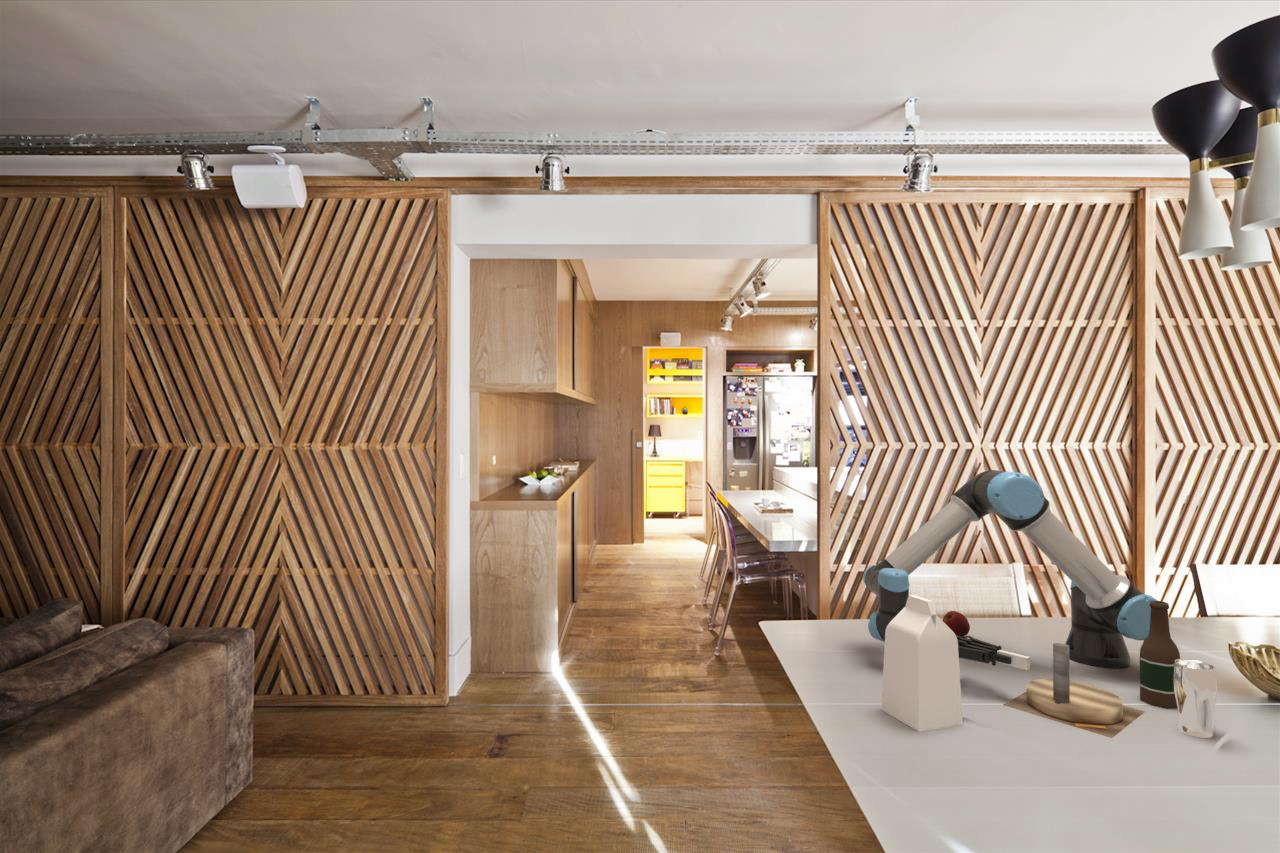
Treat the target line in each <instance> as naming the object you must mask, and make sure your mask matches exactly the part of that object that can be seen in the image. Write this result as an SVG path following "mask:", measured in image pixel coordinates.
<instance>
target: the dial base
mask: <svg viewBox="0 0 1280 853" xmlns="http://www.w3.org/2000/svg"><path fill="white" fill-rule="evenodd" d="M1002 706H1005V707H1009V708H1012V709H1016V710H1019V711H1022V712H1025V713H1028V714H1032V715H1035V716H1038V717H1042V718H1045V719H1047V720H1051V721H1054V722H1057V723H1058V722H1059V723H1061V724H1064V725H1068V726H1071V727H1074V728H1077V729H1081V730H1083V731H1084V730H1085V731H1087V732H1091V733H1094V734H1098V735H1101V736H1104V737H1108V738H1110V739H1113V738H1114V737H1115V736H1116V735H1118V734H1119V733H1120V732H1121V731H1123V730H1124V729H1125V728H1127V727H1128V726H1129V725H1130V724H1132V723H1133V722H1134V721H1135V720H1137V719H1138V718H1139V717H1141V715H1143V714H1144V713H1146V711H1145V710H1141V709H1137V708H1134V707H1131V706H1130V707H1129V706H1127V705H1123V719H1122V720H1121V721H1119V722H1117V723H1113V724H1102V725H1101V724H1086V723H1079V722H1073V721H1069V720H1064V719H1061V718H1057V717H1054V716H1051V715H1048V714H1046V713H1043V712H1041V711H1039V710H1037V709H1035V708H1034V707H1032V706H1031V705H1030V704H1029V703H1028V702H1027V700H1026V691H1025V692H1023V693H1021V694H1020V695H1018V696H1016V697H1014V698H1012V699H1010V700H1009V701H1007V702H1005V703H1003V704H1002Z"/></svg>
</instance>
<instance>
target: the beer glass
mask: <svg viewBox="0 0 1280 853" xmlns="http://www.w3.org/2000/svg"><path fill="white" fill-rule="evenodd" d="M1216 673H1217V672H1216V666H1214V665H1213V664H1211V663H1208V662H1204V661H1200V660H1195V659H1187V658H1180V659H1176V660H1174V670H1173V688H1174V694H1175V699H1176V704H1177V708H1178V709H1177V713H1178V721H1177V726H1176V729H1177V730H1178V731H1179V732H1180V733H1183V734H1185V735H1187V736H1192V737H1196V738H1202V739H1211V738H1214V736H1215V735H1214V731H1213V730H1214V729H1213V717H1214V711H1215V707H1216V703H1217V697H1218V684H1217V683H1218V682H1217V674H1216Z"/></svg>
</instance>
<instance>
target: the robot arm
mask: <svg viewBox="0 0 1280 853" xmlns="http://www.w3.org/2000/svg"><path fill="white" fill-rule="evenodd" d="M1044 495H1045V494H1044V491H1043V488H1042V486H1041V485H1040V484H1039V483H1038V482H1037V481H1036V480H1035V479H1034V478H1032V476H1029V475H1026V474H1024V473H1022V472H1018V471H1004V470H1003V471H1001V470H996V469H993V470H991V469H989V470H986V471H985V470H984V471H982V472H979V473H977V474H976V475H975V476H973V477H971V478H970V479H968V481H966V483H964V484H962V486H961V487H960V488H958V489H957V490H956V491H955V492H954V493H953V494H951V495H950V501H949V502H948V503H947V504H946V505H945V506H943V507H942V508H941V509H940V510H939V511H938V512H937V513H936V514H934V515H933V516H932V517H931V518H929V519H928V521H926V522H925V523H924V524H923V525H922V526H920V527H919V528H918V529H917V530H916V531H915V532H914V533H912V534H911V535H910V536H909V537H908V538H907V539H906V540H905V541H903V543H901V544H899V546H897V548H896V549H894V550H893V551H892V552H891V553H889V555H887V556H886V557H885V558H884V559H883V560H881V561H880V562H879V563H878V564H874V565H873V564H872V565H870V566H868V567H867V568H866V569H865V570H864V571H863V574H862V580H863V584H864V585H865V586H866V588H867V590H869V592H870V593H873V595H875V596H876V597H878V598H877V599H878V610H876V611H873V613H871V615H870V616H869V622H868V626H867V628H868V632H869V634H870V636H871V637H872V638H874V639H875V640H878V641H881V642H883V643H885V631H886V628H887V626H888V624H889V623H890V622H891V621H892V620H893V618H894V617H895V616H896V615H897V614H898V613H899V612H900V611H901V610H902V609H903V608H904V607H906V602H907V599H908V596H909V595H910V592H909V590H910V582H909V576H910V575H911V574H912V573H913V572H914V571H916V570H917V569H918V568H919V567H920V566H922V564H924V563H925V562H926V561H927V560H928V559H930V557H932V556H933V555H934V554H936V553H937V552H938V551H939V550H940V549H941V548H943V546H945V545H946V544H947V543H948V542H950V540H952V539H953V538H954V537H955V536H956V535H958V534H959V533H960V532H961V531H962V530H964V529H965V528H966V527H967V526H969V524H970V523H972V522H975V523H977V522H979V521H980V520H981V519H982V518H984V517H985V516H987V515H990V514H994V515H996V516H997V518H999V519H1000V520H1001V521H1002V522H1003V523H1004V524H1005V525H1006V526H1007V527H1008V528H1009V529H1010V530H1012V531H1013V532H1022V534H1024V535H1025V536H1026V537H1027V539H1029V540H1030V541H1031V542H1032V543H1033V544H1034V545H1035V546H1036V547H1037V548H1038V549H1039V550H1040V551H1041V553H1043V554H1044V555H1045V556H1046V557H1047V558H1048V559H1049V560H1050V561H1051V562H1052V563H1053V564H1054V565H1055V566H1056V567H1057V568H1058V569H1059V570H1060V571H1061V572H1062V573H1063V574H1064V575H1065V576H1066V577H1067V578H1068V579H1069V580H1070V582H1071V583H1070V587H1069V588H1070V605H1071V606H1070V611H1071V612H1070V613H1071V620H1070V622H1071V625H1070V626H1071V627H1070V631H1069V633H1068V636H1067V638H1066V641H1065V643H1064V644H1066V645H1069V660H1073V661H1075V662H1078V663H1081V664H1084V665H1085V664H1086V665H1089V666H1095V667H1100V668H1110V669H1111V668H1112V669H1113V668H1114V669H1116V668H1118V669H1120V668H1127V667H1129V666H1130V665H1131V655H1130V653H1129V649H1128V646H1127V644H1126V642H1125V640H1124V637H1125V638H1127V639H1132V640H1135V641H1144V640H1145V639H1146V638H1147V636H1148V635H1149V630H1150V616H1151V607H1150V606H1149V605H1150V602H1151V601H1159V600H1158V599H1157V598H1154V597H1153V596H1151V595H1149V594H1145V593H1143V592H1142V591H1141V589H1139V588H1138V587H1137V586H1136V585H1135V584H1134V583H1133V582H1132V580H1131V581H1130V579H1129V578H1128V577H1126V576H1124V575H1120V574H1115V573H1113V571H1112V570H1111V569H1110V568H1109V567H1108V566H1107V565H1106V564H1105V563H1103V562H1102V561H1101V559H1099V557H1098V556H1096V555H1095V554H1094V553H1093V552H1092V551H1091V550H1090V549H1089V548H1088V547H1087V546H1086V545H1085V543H1083V542H1082V540H1080V539H1079V538H1078V537H1077V536H1076V535H1075V534H1074V533H1073V532H1072V531H1071V530H1070V529H1069V528H1068V527H1067V526H1066V525H1065V524H1064V523H1063V522H1062V521H1060V519H1059V518H1058V517H1057V516H1056V515H1055V514H1054V513H1053V512H1052V511H1051V510H1050V506H1051V503H1050V501H1049V500H1048V499H1047V498H1046V497H1045V496H1044ZM956 637H957V641H958V655H959V659H964V660H968V661H969V660H970V661H974V662H979V663H984V664H990V663H991V666H994V667H995V666H997V663H998V664H1001V665H1004V666H1009V667H1013V668H1016V669H1021V670H1024V671H1029V670H1030V669H1031V656H1027V655H1024V654H1019V653H1015V652H1011V651H1008V650H1007V651H1006V650H1003V649H1002V646H1001V645H995V644H993V643H990V642H987V641H983V640H981V639H976V637H975V638H974V637H973V636H971V635H966V636H965V637H966V638H965V637H961V636H958V635H956Z"/></svg>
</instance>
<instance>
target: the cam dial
mask: <svg viewBox="0 0 1280 853" xmlns="http://www.w3.org/2000/svg"><path fill="white" fill-rule="evenodd" d="M1052 673H1053V675H1052V678H1040V679H1034V680H1030V681H1029V682H1027V683H1026V685H1025V687H1026V688H1025V690H1026V691H1025V692H1026V700H1027V702H1028V703H1029V704H1030V705H1031V706H1032V707H1034V708H1035V709H1037V710H1039V711H1041V712H1043V713H1046V714H1048V715H1051V716H1054V717H1057V718H1061V719H1064V720H1069V721H1073V722H1079V723H1086V724H1101V725H1102V724H1113V723H1117V722H1119V721H1121V720H1122V719H1123V706H1124V702H1123V700H1122V699H1121V698H1120V697H1119V696H1117V695H1116V694H1115V693H1112V692H1111V691H1108V690H1106V689H1104V688H1100V687H1098V686H1095V685H1092V684H1087V683H1084V682H1080V681H1073V680H1070V658H1069V645H1066V644H1065V643H1061V642H1053V643H1052Z"/></svg>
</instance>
